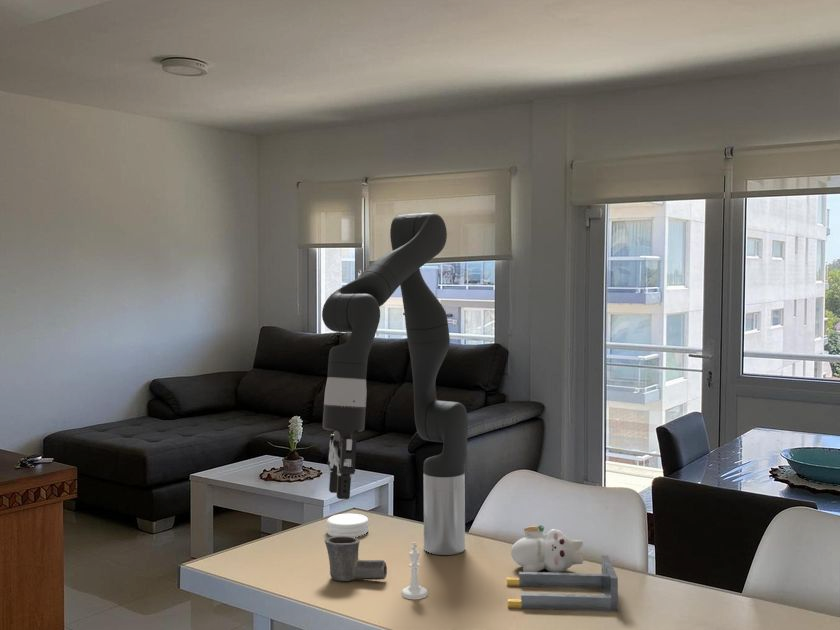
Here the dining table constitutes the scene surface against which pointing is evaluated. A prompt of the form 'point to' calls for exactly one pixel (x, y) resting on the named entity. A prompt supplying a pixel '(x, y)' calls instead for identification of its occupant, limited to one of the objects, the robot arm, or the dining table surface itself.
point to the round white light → (347, 525)
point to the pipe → (351, 561)
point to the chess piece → (414, 578)
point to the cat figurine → (546, 550)
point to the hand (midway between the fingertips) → (338, 495)
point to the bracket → (573, 580)
